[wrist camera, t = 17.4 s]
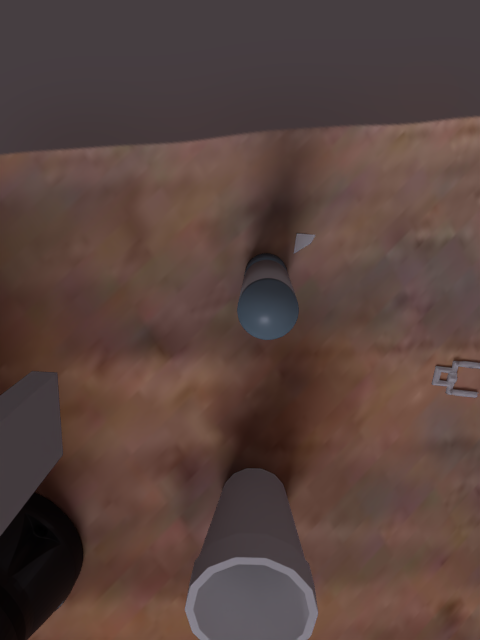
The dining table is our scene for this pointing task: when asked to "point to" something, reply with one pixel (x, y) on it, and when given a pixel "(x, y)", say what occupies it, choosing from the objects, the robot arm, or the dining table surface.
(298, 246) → the small grey pieces
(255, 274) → the cylinder
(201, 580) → the foam cup
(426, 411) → the dining table surface
